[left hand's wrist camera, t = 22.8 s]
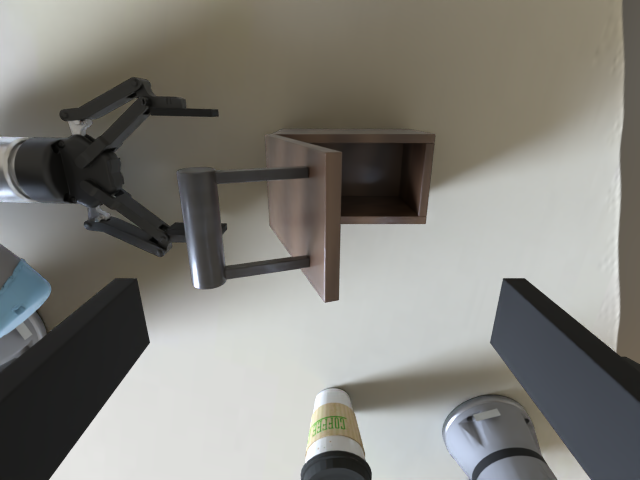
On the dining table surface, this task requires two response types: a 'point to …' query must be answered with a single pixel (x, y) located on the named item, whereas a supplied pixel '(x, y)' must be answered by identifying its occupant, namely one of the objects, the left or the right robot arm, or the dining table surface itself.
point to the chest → (378, 172)
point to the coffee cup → (334, 441)
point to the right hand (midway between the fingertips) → (220, 174)
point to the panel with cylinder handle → (271, 215)
